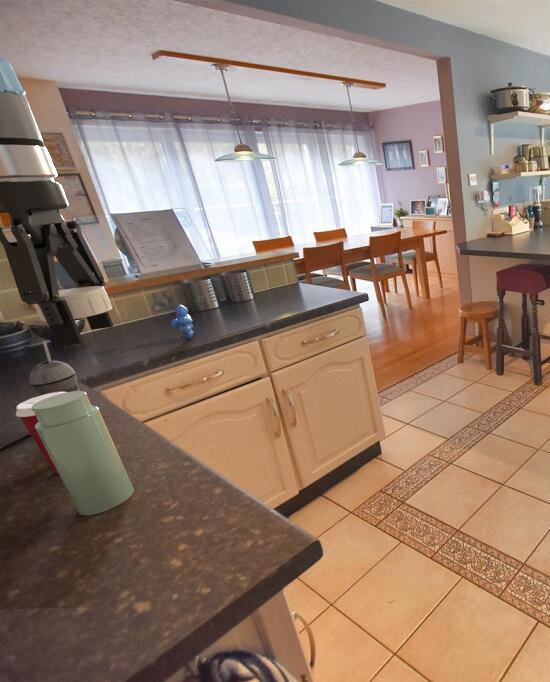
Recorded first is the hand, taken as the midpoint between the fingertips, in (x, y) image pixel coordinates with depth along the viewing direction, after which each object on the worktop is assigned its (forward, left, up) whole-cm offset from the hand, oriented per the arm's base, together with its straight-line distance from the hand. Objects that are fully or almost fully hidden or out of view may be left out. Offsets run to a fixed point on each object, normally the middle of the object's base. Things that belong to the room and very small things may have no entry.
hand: (87, 335), depth 68 cm
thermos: (-3, -5, -28) cm, 28 cm away
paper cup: (-20, +6, -28) cm, 35 cm away
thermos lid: (0, 0, +3) cm, 3 cm away
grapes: (-56, +84, -28) cm, 105 cm away
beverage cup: (-36, +22, -28) cm, 51 cm away
